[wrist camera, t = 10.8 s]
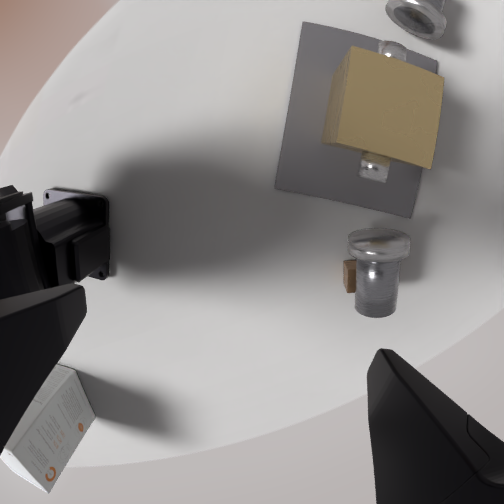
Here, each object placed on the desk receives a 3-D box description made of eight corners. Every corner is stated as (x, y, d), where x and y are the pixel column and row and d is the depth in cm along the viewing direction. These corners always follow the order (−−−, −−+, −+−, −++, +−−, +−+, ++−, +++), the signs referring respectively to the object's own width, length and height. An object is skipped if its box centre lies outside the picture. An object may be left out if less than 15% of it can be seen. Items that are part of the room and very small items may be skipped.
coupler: (317, 162, 18) (330, 171, 12) (335, 57, 15) (354, 22, 10) (385, 179, 17) (424, 195, 12) (402, 77, 15) (445, 55, 9)
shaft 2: (422, 49, 14) (453, 29, 10) (374, 20, 14) (395, -8, 10) (438, 7, 13) (467, -16, 8) (393, -20, 13) (414, -50, 8)
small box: (37, 355, 28) (-27, 425, 15) (76, 369, 27) (11, 453, 15) (59, 403, 30) (10, 470, 18) (97, 417, 30) (50, 495, 17)
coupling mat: (274, 187, 19) (274, 188, 18) (302, 23, 15) (302, 21, 15) (408, 217, 18) (410, 218, 18) (435, 61, 14) (436, 60, 14)
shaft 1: (340, 225, 19) (354, 249, 15) (393, 223, 18) (420, 245, 14) (340, 288, 20) (352, 324, 16) (390, 284, 20) (411, 318, 16)
